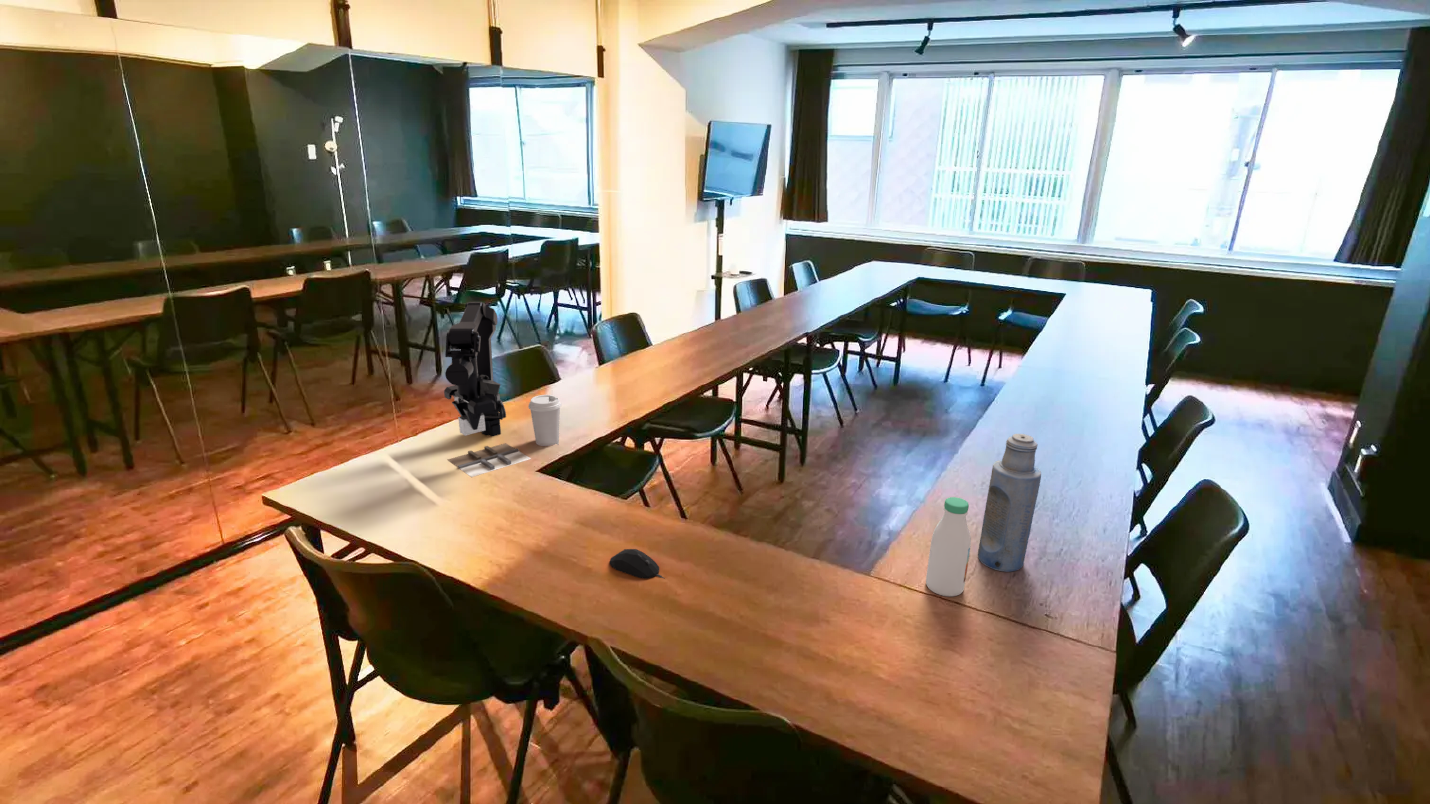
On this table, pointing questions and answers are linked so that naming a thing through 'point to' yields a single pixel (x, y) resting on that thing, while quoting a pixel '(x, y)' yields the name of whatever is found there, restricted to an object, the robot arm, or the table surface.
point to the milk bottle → (949, 550)
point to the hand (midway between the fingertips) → (472, 427)
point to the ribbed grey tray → (488, 459)
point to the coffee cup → (545, 419)
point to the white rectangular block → (466, 427)
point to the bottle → (1010, 506)
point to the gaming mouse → (635, 564)
